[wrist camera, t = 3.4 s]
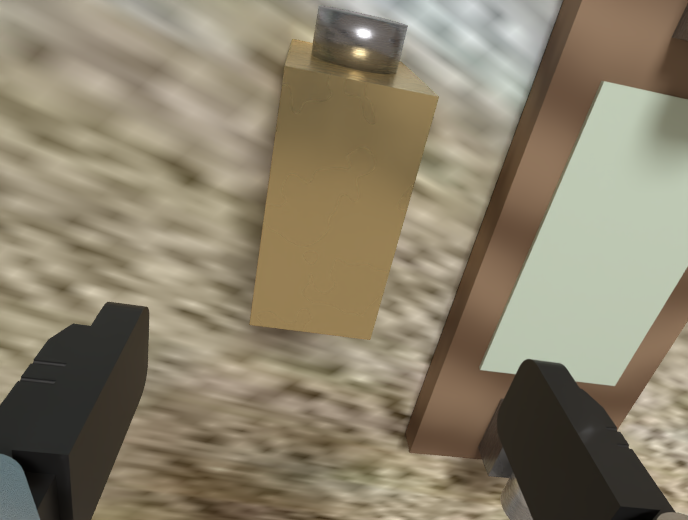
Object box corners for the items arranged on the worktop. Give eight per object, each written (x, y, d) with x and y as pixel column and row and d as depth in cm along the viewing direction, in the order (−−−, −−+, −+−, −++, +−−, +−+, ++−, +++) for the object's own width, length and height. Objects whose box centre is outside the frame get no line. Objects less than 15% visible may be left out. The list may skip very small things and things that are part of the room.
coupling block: (298, -4, 19) (292, 6, 13) (410, 21, 20) (454, 41, 14) (260, 264, 25) (245, 356, 19) (349, 276, 26) (361, 370, 20)
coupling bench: (616, -144, 18) (760, -200, 12) (895, -62, 19) (1135, -78, 14) (405, 432, 31) (426, 533, 26) (580, 449, 33) (636, 547, 27)
